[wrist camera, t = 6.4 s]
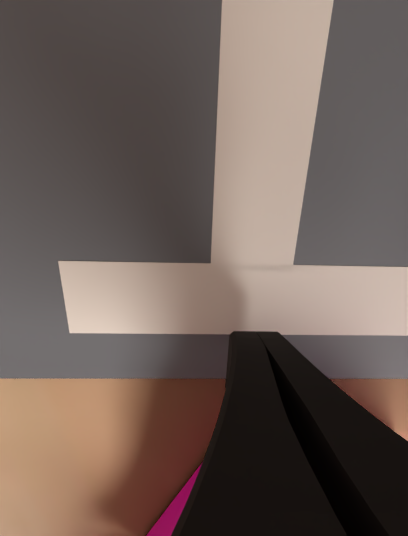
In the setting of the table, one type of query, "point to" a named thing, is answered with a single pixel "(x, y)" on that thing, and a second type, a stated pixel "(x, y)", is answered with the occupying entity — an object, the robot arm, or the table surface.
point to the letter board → (202, 185)
